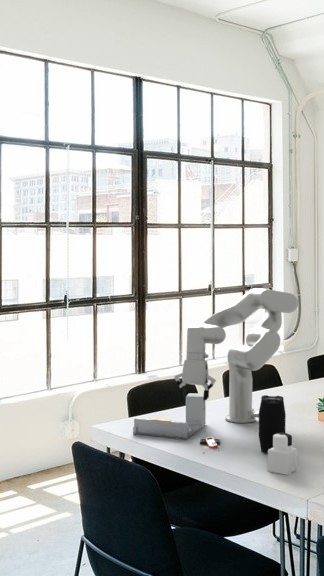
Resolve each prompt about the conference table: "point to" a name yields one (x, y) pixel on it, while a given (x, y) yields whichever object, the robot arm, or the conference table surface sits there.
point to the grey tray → (164, 428)
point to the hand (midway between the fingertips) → (194, 398)
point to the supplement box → (195, 409)
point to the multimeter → (210, 442)
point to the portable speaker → (270, 420)
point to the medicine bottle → (282, 455)
